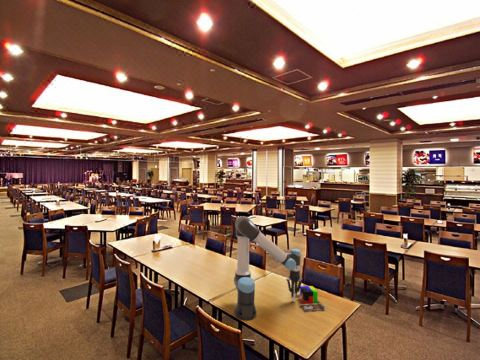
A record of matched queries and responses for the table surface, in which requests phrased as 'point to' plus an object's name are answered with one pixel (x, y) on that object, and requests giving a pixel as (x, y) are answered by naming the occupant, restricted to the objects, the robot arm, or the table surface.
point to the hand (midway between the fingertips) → (293, 300)
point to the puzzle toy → (308, 294)
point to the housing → (316, 307)
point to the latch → (308, 307)
